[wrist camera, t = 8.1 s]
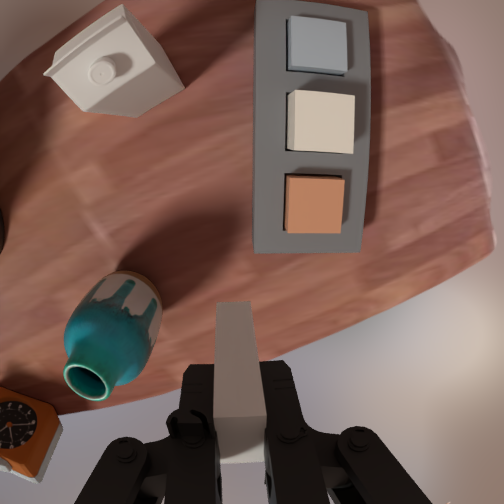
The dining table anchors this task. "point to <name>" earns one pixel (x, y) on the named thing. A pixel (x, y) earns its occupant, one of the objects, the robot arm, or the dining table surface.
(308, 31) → the key slate
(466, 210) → the dining table surface
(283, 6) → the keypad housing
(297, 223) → the key rust
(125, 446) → the robot arm
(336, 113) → the key ivory
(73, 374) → the vase
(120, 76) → the milk carton
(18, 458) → the alarm clock
